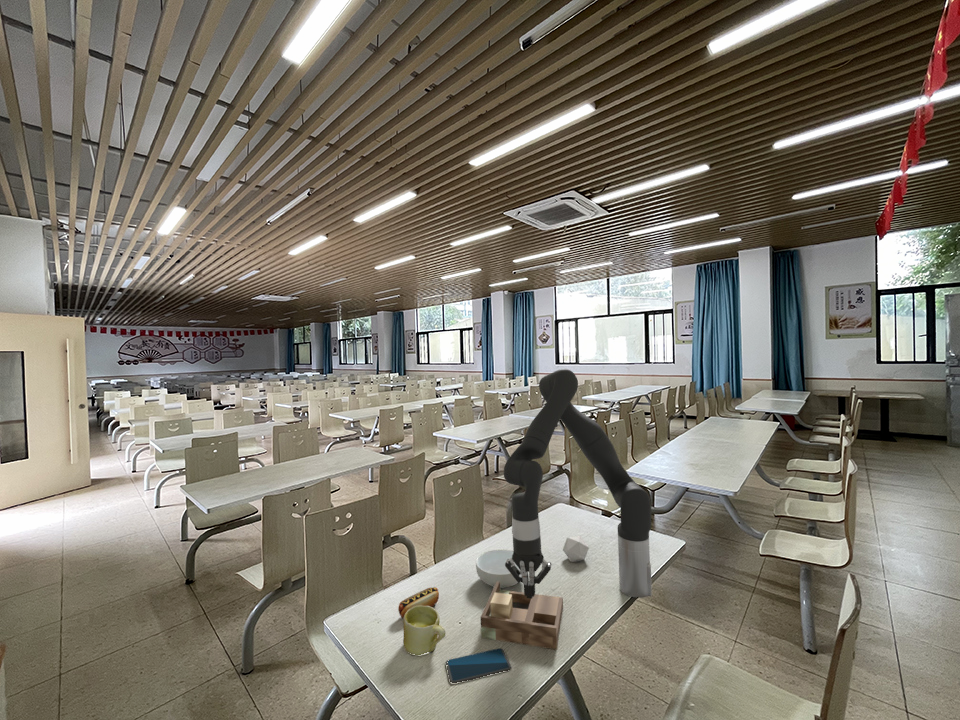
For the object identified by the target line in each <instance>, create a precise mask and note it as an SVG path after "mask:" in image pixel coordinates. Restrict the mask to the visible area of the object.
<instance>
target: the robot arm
mask: <svg viewBox="0 0 960 720" xmlns="http://www.w3.org/2000/svg"><path fill="white" fill-rule="evenodd" d="M578 388H579V381H578V377H577V375H576V374H575V373H574V372H573V371H572V370H571V369H568V368H561V369H558V370H555V371H553V372H550V373H549V374H547V375H544V376H543V377H542V378H540V380H539V382H538V389H539V392H540V395H541V397H542V398H543V400H544V401H545V404H544V406H543V407H542V408H541V410H540V411H539V412H538V413H537V414H536V415H535V417H534V418H533V420H532V421H531V423H529V426H528V428H527V431H526V432H525V435H524V437H523V439H522V441H521V443H520V445H518V447H516V449H515V450H514V451H513V452H512V453H511V454H510V456H509V457H508V459H507V460H506V461H505V464H504V467H503V478H504V480H505V482H506V483H508V484H510V485H515V486H518V487H523V488H524V487H525V489H524V490H525V491H524V492H517V493H515V494H514V495H513V496H512V497H511V511H512V512H511V513H512V514H511V515H512V516H511V517H512V520H511V521H512V522H511V534H512V549H513V550H512V551H513V555H512V558H510V559H507V561H506V563H505V567H506V568H507V569H508V570H509V572H510V573H511V574H512V576H513V577H514V578H515V579H516V581H517V582H518V583H522V584H523V593H524V595H525V596H527V598H530V599H532V598H533V597H534V595H535V594H536V584H539V585H540V584H541V582H543V580H544V579H545V578H546V576H547V575H548V574H549V572H550V571H551V570H552V569H551V568H552V562H551V561H547V560H546V559H545V558H544V554H543V553H542V539H541V523H540V518H539V504H538V502H539V497H540V490H541V486H542V482H543V477H544V471H543V468H542V465H541V464H540V463H539V462H538V461H536V460H537V459H541V458H543V457H544V456H545V453H546V452H547V449H548V447H549V444H550V442H551V440H552V436H553V434H554V432H555V429H556V428H557V425H558V424H559V422H560V421H561V422H562V423H563V425H564V426H565V428H566V429H567V430H568V432H569V433H570V435H571V436H572V438H573V439H574V442H575V443H577V446H578V448H579V449H580V450H581V452H582V454H583V455H584V456H585V458H586V459H587V460H588V461H589V463H590V465H592V466H593V468H594V469H595V470H596V471H597V473H598V474H599V475H600V476H601V478H602V479H603V481H604V482H605V484H606V486H607V487H608V489H609V491H610V493H611V496H612V497H613V499H614V501H615V503H616V505H617V506H618V507H619V509H620V522H619V523H618V525H617V545H618V547H617V548H618V550H617V553H618V575H619V576H618V579H619V581H618V582H619V583H618V584H619V590H620V591H621V592H622V593H623V594H624V595H626V596H628V597H631V598H635V599H636V598H637V597H638V596H639V597H638V598H637V599H641V598H646V597H647V598H648V597H653V593H652V592H653V589H652V566H651V565H652V564H651V555H650V553H651V552H650V532H651V529H652V502H651V497H650V495H649V493H648V492H647V491H646V490H645V489H643V488H642V487H641V486H640V485H639V484H638V483H636V481H635V480H634V479H633V478H632V477H631V476H630V474H629V473H628V472H627V470H625V468H624V467H623V465H622V463H621V460H620V459H619V456H618V453H617V452H616V449H615V447H614V445H613V442H612V441H611V439H610V438H609V435H607V433H606V431H605V430H604V429H603V427H602V426H601V425H600V424H599V423H598V422H596V421H595V420H594V419H593V418H590V417H589V416H587V415H586V414H584V413H582V412H581V411H580V410H579V409H577V408H576V406H574V404H573V403H572V402H571V401H572V400H573V399H574V397H575V395H576V394H577V391H578ZM514 562H515V563H514ZM515 564H516V565H517V566H518V568H519V569H520V570H521V573H520V571H519V570H518V569H517V567H516V566H515ZM540 567H541V570H540V571H539V572H538V574H537V575H536V572H537V570H538V569H539V568H540Z"/></svg>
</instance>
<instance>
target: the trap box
mask: <svg viewBox="0 0 960 720" xmlns="http://www.w3.org/2000/svg"><path fill="white" fill-rule="evenodd" d="M494 593H504V594H512V606H513V613H512V616H511V619H506V618H499V617H492V616H491V605H490V602H491V600H492V598H493V595H494ZM563 599H564V597H562V596H561V597H560V596H553V595H544V594H539V593H538V594H537V593H535V595H534V597H533V598H532V599H530V598H527V596H525V595H524V592H522V591H521V592H520V591H512V590H504V589H501V588H500V582H498V581H497V582H496V584H495V586H493V588H492V591H491V594H490V595H489V597H488V600H487V602H486V604H485V607H484V608H483V611H482V613H481V616H480V636H481V639H487V640H495V641H500V642H508V643H512V644H519V645H520V644H521V645H525V646H530V647H531V646H532V647H537V648H544V649H545V648H546V649H551V650H558V643H559V639H560V638H559V637H560V630H561V626H562V625H561V624H562V619H563V618H562V617H563V611H564V600H563Z"/></svg>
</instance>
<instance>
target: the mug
mask: <svg viewBox="0 0 960 720" xmlns="http://www.w3.org/2000/svg"><path fill="white" fill-rule="evenodd" d="M402 619H403V621H402V622H403V624H402V625H403V628H402V629H403V639H402V641H403V647H404V650H405V651H407V652H406V653H408V652H409V653H408V654H410V653H411V654H410V655H412V654H415V655H421V654H424V653H427V652H431V651H432V652H434V650H435V649H436V647H437V644H438V643H439V642H440V641H441V640H443V639H444V638H446V634H447V633H446V630H445V628H444V627H443V626H442V625H441V624H440V615H439V612H438V611H437V610H436V609H435V608H434V606H432V607H430V606H421V605H420V606H415V607H413V608H410V609H409V610H407V612H406V613H405V615H404V618H402ZM432 652H431V653H432ZM415 655H414V656H415Z"/></svg>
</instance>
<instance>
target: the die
mask: <svg viewBox="0 0 960 720" xmlns="http://www.w3.org/2000/svg"><path fill="white" fill-rule="evenodd" d="M562 547H563V548H562V551H563V553H564V554H565V556H566V557H567V559H569V561H570V563H574V562H582V561H585V560H586V557H587V554H588V553H589V549H590V547H589V545H588V544H587V543H586V541H585V540H584V539H583V538H582V536H581V535H575V536H570V537H569V536H568V537H566V540H565V542H564V546H562Z"/></svg>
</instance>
